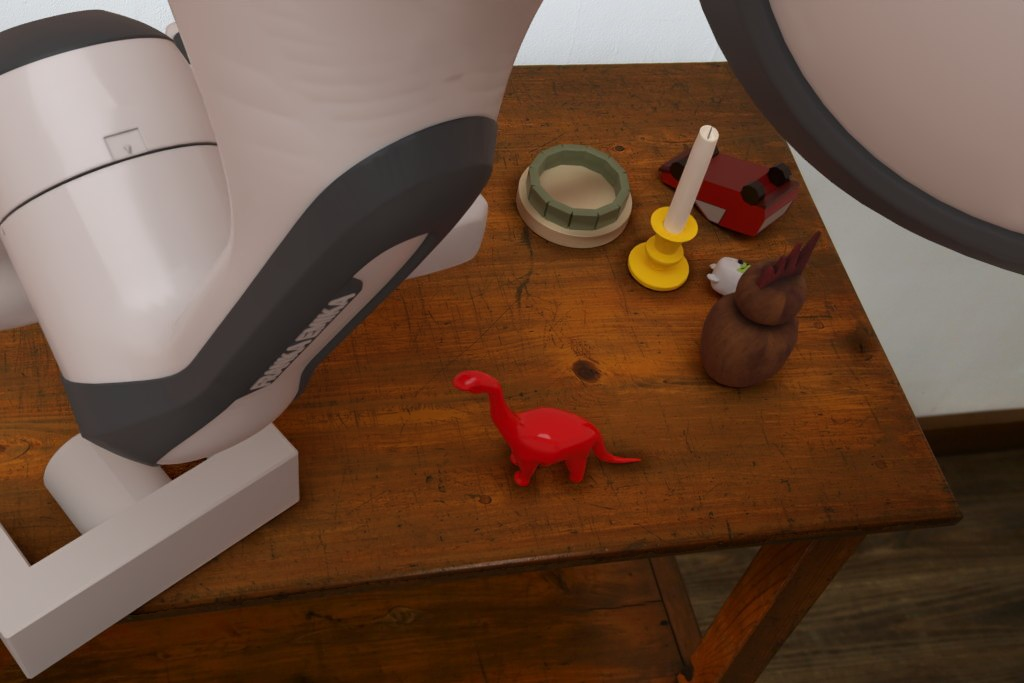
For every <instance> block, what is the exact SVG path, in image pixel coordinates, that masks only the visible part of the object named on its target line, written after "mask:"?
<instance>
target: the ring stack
mask: <svg viewBox="0 0 1024 683" xmlns="http://www.w3.org/2000/svg"><path fill="white" fill-rule="evenodd" d="M626 172H627V171H626V169H625V168H623V166H621V164H620V163H619V162H618V161H617V160H616V159H615V158H614V157H613V156H610V154H609V153H606V152H604V151H602V150H599V149H597V148H595V147H592V146H590V145H586V144H572V143H562V144H557V145H554V146H552V147H549V148H545V149H544V150H541V152H538V154H537V155H536V156H535V157H534V159H533V161H532V162H531V163H530V164H529V165H528V166H527V167H526V169H525V170H524V171H523V172H522V174H521V176H520V177H519V180H518V185H517V190H516V196H515V204H516V209H517V211H518V214H519V216H520V217H521V219H522V221H523V222H524V224H525V225H526V226H527V227H528V228H529V229H530V230H531V231H532V232H534V233H535V234H536V235H538V236H539V237H540V238H543V239H544V240H546V241H548V242H550V243H553V244H556V245H559V246H562V247H565V248H566V247H567V248H572V249H591V248H596V247H601V246H604V245H607V244H608V243H611V242H613V241H614V240H616V239H617V238H618V237H619V236H621V235H622V233H623V231H625V229H626V227H627V224H628V223H629V219H630V216H631V213H632V209H633V197H632V194H631V187H630V182H629V176H628V173H626Z"/></svg>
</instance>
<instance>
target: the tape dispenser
mask: <svg viewBox="0 0 1024 683" xmlns="http://www.w3.org/2000/svg"><path fill="white" fill-rule="evenodd" d="M205 458H206V459H205V460H204V461H202V462H200V463H199V464H197V465H195V466H194V467H192V468H191V469H189V470H188V471H186V472H184V473H183V474H180V475H179V476H178V477H176V478H174V479H173V480H172V479H171V478H170V476H169V475H168V474H167V473H166V472H165V470H164V469H163V468H162V467H161V466H156V467H151V466H147V465H144V464H140V463H137V462H134V461H132V460H129V459H126V458H123V457H121V456H118V455H116V454H114V453H112V452H110V451H108V450H106V449H103V448H101V447H99V446H97V445H95V444H94V443H92V442H90V441H88V440H86V439H84V438H82V436H81V434H80V432H78V433H77V434H76V435H74V436H73V437H71V438H69V439H68V440H67V441H66V442H65V443H63V444H62V445H61V446H60V447H58V449H57V450H56V451H55V452H54V454H53V455H52V456H51V458H50V459H49V461H48V463H47V465H46V467H45V470H44V474H43V486H44V487H45V488H46V489H47V491H48V492H49V493H50V495H51V496H52V498H53V499H54V501H56V503H57V504H58V505H59V507H60V508H61V509H62V511H63V512H64V514H65V515H66V516H67V517H68V519H69V520H70V522H71V523H72V524H73V526H74V527H75V528H76V529H77V531H78V532H79V533H80V536H78V537H77V538H75V539H74V540H72V541H70V542H68V543H67V544H65V545H64V546H62V547H60V548H58V549H57V550H55V551H53V552H52V553H50V554H49V555H47V556H46V557H44V558H42V559H41V560H39V561H37V562H35V563H34V564H32V565H31V563H30V562H29V561H28V559H27V558H26V556H25V554H24V553H23V552H22V551H21V550H20V548H19V546H18V545H17V544H16V543H15V541H14V540H13V538H12V537H11V535H10V533H8V531H7V530H6V528H5V527H4V526H3V524H2V523H1V522H0V640H1V641H2V643H3V645H4V646H5V647H6V649H7V651H8V652H9V653H10V655H11V656H12V658H13V659H14V661H15V662H16V664H17V665H18V667H19V668H20V669H21V671H22V672H23V674H24V676H25V677H26V679H31V680H32V679H33V678H35V677H36V676H38V675H39V674H41V673H43V672H44V671H45V670H47V669H48V668H50V667H51V666H53V665H55V664H56V663H58V662H59V661H60V660H62V659H63V658H65V657H67V656H68V655H70V654H71V653H73V652H75V651H76V650H77V649H79V648H81V647H82V646H83V645H85V644H86V643H87V642H89V641H90V640H93V638H95V637H97V636H98V635H100V634H102V632H104V631H106V630H107V629H108V628H110V627H112V626H113V625H115V624H116V623H118V622H119V621H121V620H122V619H124V618H126V617H127V616H128V615H130V614H132V613H133V612H134V611H136V610H137V609H139V608H140V607H142V606H143V605H145V604H146V603H148V602H149V601H150V600H152V599H154V598H155V597H157V596H159V595H160V594H162V593H163V592H164V591H165V590H167V589H169V588H171V587H172V586H173V585H175V584H177V583H178V582H179V581H181V580H182V579H184V578H185V577H187V576H188V575H190V574H191V573H193V572H195V571H196V570H197V569H199V568H200V567H202V566H203V565H205V564H207V563H208V562H210V561H212V559H214V558H216V557H217V556H218V555H220V554H222V553H223V552H225V551H226V550H227V549H229V548H230V547H232V546H233V545H235V544H236V543H238V542H240V541H241V540H243V539H244V538H245V537H247V536H248V535H251V533H253V532H255V531H256V530H258V529H259V528H261V527H262V526H263V525H265V524H267V523H268V522H269V521H271V520H273V519H274V518H275V517H278V516H279V515H280V514H282V513H283V512H285V511H287V510H288V509H289V508H291V507H292V506H294V505H295V504H297V503H298V502H300V468H299V451H298V449H296V448H295V446H294V445H293V444H292V443H291V441H289V439H287V437H286V436H285V435H284V434H283V433H282V432H281V431H280V430H279V429H278V427H277V426H276V425H275V424H274V423H273V422H272V423H270V424H269V425H268V426H267V427H265V428H264V429H263V430H261V431H260V432H258V433H257V434H255V435H254V436H252V437H250V438H248V439H247V440H245V441H243V442H241V443H239V444H237V445H235V446H233V447H231V448H229V449H226V450H224V451H222V452H219V453H217V454H214V455H211V456H208V457H205Z"/></svg>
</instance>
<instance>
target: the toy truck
mask: <svg viewBox="0 0 1024 683" xmlns="http://www.w3.org/2000/svg"><path fill="white" fill-rule="evenodd" d="M692 147H693V145H692V146H690V147H688V148H687V149H685V150H684V151H682V152H680V153H679V154H678V155H676V156H674V157H672V158H671V159H670V160H668V161H666V162H664V163H663V164H661V165H660V166H659V167H658V172H659V173H660V175H661V182H662V183H664V184H666V185H668V186H670V187H671V188H673V189H675V190H676V189H677V187H678V184H679V181H680V179H681V176H682V173H683V171H684V168H685V166H686V163H687V160H688V158H689V155H690V153H691V150H692ZM792 176H793V173H792V170H791V167H790V166H789V165H788V164H786V163H784V162H783V161H782V162H778V163H775V164H774V165H772V166H770V167H768V166H765V165H761V164H758V163H755V162H751V161H749V160H745V159H742V158H739V157H736V156H732V155H729V154H726V153H723V152H720V150H719V147H718V146H717V144H716V146H715V149H714V152H713V155H712V158H711V160H710V163H709V166H708V168H707V171H706V173H705V176H704V179H703V181H702V184H701V186H700V189H699V192H698V194H697V197H696V199H695V202H694V205H695V206H696V208H698V210H699V211H700V213H701V214H702V215H703V217H704V218H705V219H706V220H707V221H709V222H711V223H713V224H714V225H715V224H716V225H718V226H720V227H723V228H726V229H729V230H731V231H734V232H737V233H740V234H744V235H746V236H749V237H752V238H754V237H756V236H757V235H758V234H760V233H762V232H763V231H764V230H766V229H767V228H768V227H770V226H771V225H772V224H773V223H776V221H778V220H779V219H780V218H782V217H783V216H784V215H786V214H787V213H788V211H789V210H790V208H791V207H792V206H793V204H794V202H795V201H796V199H797V197H798V194H799V188H798V187H800V183H801V182H800V181H797V180H793V179H791V178H792Z"/></svg>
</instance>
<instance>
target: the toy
mask: <svg viewBox="0 0 1024 683" xmlns="http://www.w3.org/2000/svg"><path fill="white" fill-rule="evenodd" d="M750 266H751V264H749V263H746V262H745V261H743V260H742V259H737V258H734V257H729V256H724V257H721V258H720V259H719V260H718V261H717V262H716V263H711V264H710V265H709V268H710V269H711V270H712V272H711V273H708V274H706V278H707V279H708V280H709V281H710V286H711V288H712V289H713V290H714V291H715V292H716V293H718V294H719V295H722V296H724V295H727V294H730V293H734V292H735V291H736V287H737V283H738V281H739V279H740V277H741V275H742V274H743V273H744V272H745V271H746V270H747V269H748V268H749V267H750ZM860 346H861V347H862V349H863V354H866V352H867V350H866V347H865V346H864V344H862V343H860ZM872 358H873V355H872V354H871V355H870V356H868V357H866V358H864V361H869V360H871V359H872Z"/></svg>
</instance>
